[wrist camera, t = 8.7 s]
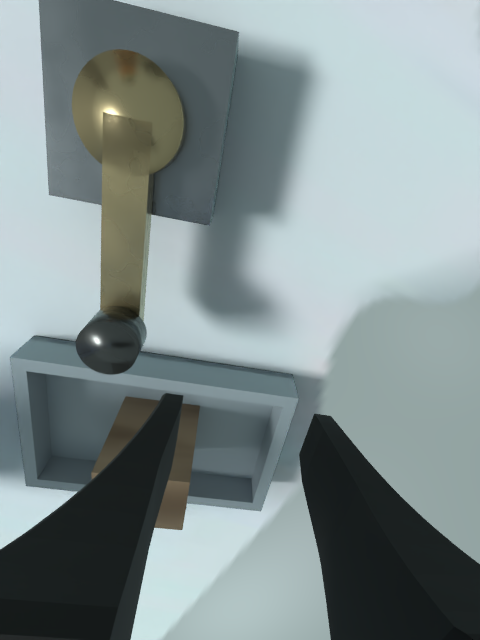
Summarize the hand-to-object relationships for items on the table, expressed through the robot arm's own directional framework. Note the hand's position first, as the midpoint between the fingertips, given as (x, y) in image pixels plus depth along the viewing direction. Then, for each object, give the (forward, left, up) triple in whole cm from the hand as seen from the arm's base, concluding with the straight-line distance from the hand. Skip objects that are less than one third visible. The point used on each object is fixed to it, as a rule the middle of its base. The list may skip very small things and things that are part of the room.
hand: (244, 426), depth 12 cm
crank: (+5, +6, -6) cm, 10 cm away
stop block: (-9, +4, -9) cm, 13 cm away
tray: (-9, +4, -9) cm, 14 cm away
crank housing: (+9, +10, -9) cm, 16 cm away
